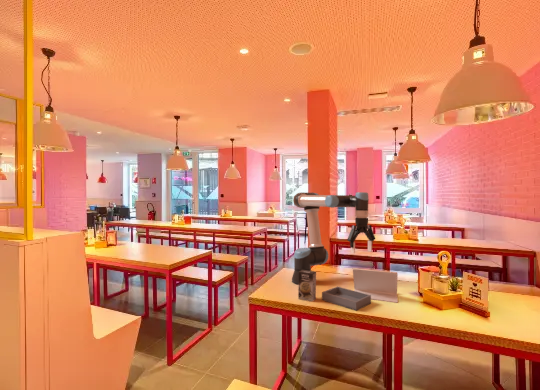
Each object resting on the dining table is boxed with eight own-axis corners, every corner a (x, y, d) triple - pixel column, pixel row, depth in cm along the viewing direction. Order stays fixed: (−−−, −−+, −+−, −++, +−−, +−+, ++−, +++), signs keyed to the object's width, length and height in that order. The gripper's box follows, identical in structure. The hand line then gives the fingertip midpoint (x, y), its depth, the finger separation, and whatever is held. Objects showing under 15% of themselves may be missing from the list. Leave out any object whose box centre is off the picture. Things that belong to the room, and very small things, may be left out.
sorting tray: (322, 299, 162) (322, 292, 162) (337, 293, 173) (337, 286, 173) (356, 310, 146) (356, 302, 146) (370, 303, 157) (370, 295, 157)
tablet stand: (397, 303, 157) (397, 273, 158) (352, 297, 167) (352, 269, 167) (396, 293, 174) (396, 266, 175) (355, 288, 184) (355, 262, 184)
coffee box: (297, 299, 163) (298, 271, 163) (301, 295, 169) (301, 269, 169) (312, 301, 159) (312, 273, 159) (316, 298, 164) (316, 271, 165)
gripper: (350, 218, 161) (349, 254, 161) (381, 217, 172) (381, 251, 172) (341, 217, 168) (341, 252, 168) (372, 216, 179) (372, 249, 179)
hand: (361, 252), depth 170 cm, fingers open, 13 cm apart
